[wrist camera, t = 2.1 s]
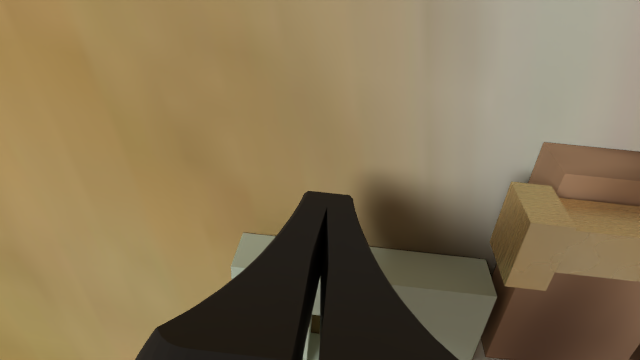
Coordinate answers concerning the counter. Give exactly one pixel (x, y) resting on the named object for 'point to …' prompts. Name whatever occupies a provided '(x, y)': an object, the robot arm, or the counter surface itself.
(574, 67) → the counter surface
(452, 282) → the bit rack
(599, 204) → the bar
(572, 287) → the socket block
